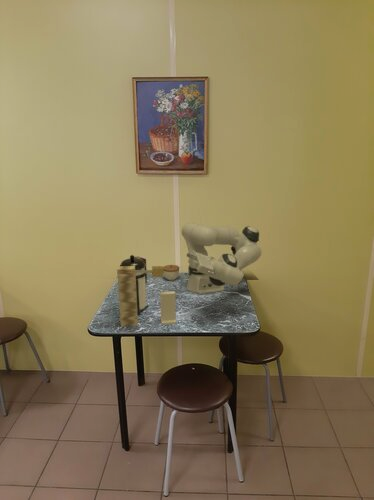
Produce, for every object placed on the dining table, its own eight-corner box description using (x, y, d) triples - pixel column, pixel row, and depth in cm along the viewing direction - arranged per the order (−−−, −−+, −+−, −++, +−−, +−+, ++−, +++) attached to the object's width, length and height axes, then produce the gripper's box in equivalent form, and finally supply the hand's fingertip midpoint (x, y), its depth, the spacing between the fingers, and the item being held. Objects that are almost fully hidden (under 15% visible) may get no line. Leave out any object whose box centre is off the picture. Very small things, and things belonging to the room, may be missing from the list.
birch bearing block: (137, 319, 177) (134, 265, 169) (137, 325, 171) (134, 269, 163) (121, 320, 176) (117, 266, 168) (120, 326, 170) (117, 270, 162)
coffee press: (116, 306, 192) (112, 253, 183) (145, 301, 197) (142, 249, 189) (122, 320, 176) (118, 263, 168) (153, 315, 181) (151, 259, 173)
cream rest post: (174, 316, 180) (174, 289, 176) (176, 324, 172) (175, 295, 168) (160, 317, 179) (160, 290, 175) (161, 324, 171) (160, 296, 167)
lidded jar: (182, 277, 232) (182, 264, 229) (173, 283, 223) (172, 268, 221) (169, 274, 238) (169, 261, 235) (159, 279, 229) (159, 265, 227)
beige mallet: (162, 274, 171) (162, 266, 169) (163, 277, 167) (163, 269, 166) (124, 273, 168) (124, 265, 167) (124, 276, 164) (124, 268, 163)
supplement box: (133, 281, 227) (131, 257, 222) (139, 279, 230) (138, 255, 226) (141, 284, 221) (140, 260, 216) (147, 282, 224) (146, 258, 220)
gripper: (213, 281, 166) (186, 270, 164) (207, 267, 186) (183, 256, 183) (219, 269, 165) (192, 258, 162) (212, 256, 184) (188, 245, 182)
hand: (187, 257), depth 173 cm, fingers open, 8 cm apart
